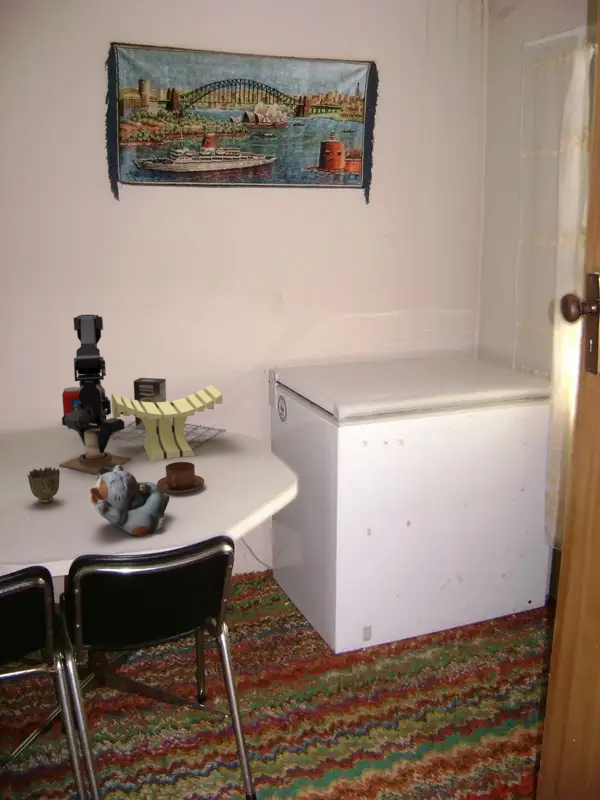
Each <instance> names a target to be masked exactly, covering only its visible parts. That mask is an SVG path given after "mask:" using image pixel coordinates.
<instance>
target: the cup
mask: <svg viewBox="0 0 600 800" xmlns="http://www.w3.org/2000/svg"><path fill="white" fill-rule="evenodd" d="M60 473H61V472H60V469H59V468H57V469H56V467H53V468H52V467H47V466H45V467H44V469H42V468H41V467H39V469H35V468H33V469H32V470H29V472H28V473H27V479H28V483H29V487H30V491H31V493H32V495H33V496H34V497H35V498H37V500H38V503H39V504H41V505H49V504H51V503H53V502H54V500H55V498H54V497H55V496H56V495H57V494H58V492H59V488H60Z"/></svg>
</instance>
